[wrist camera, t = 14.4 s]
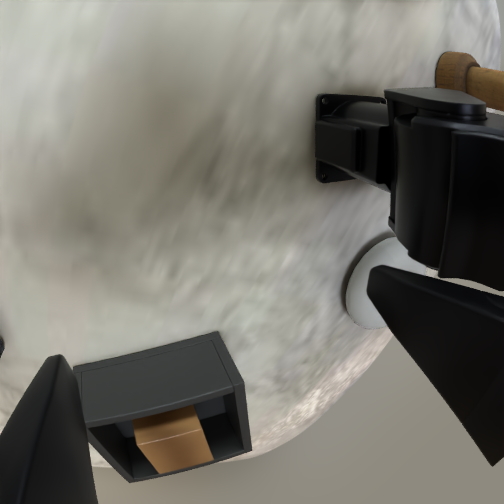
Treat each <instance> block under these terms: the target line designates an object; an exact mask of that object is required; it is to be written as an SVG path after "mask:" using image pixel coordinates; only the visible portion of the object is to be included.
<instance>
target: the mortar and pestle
mask: <svg viewBox="0 0 504 504" xmlns="http://www.w3.org/2000/svg"><path fill="white" fill-rule="evenodd" d="M436 86H437V88H442V89H450V90H458V91H462V92H464V93H466V94H469V95H471V96H473V97H475V98H477V99H479V100H481V101H483V102H485V103H486V107H488V108H492V109H496V110H500V111H504V72H503V71H498V70H493V69H487V68H481V67H480V65H479V64H478V63H477V62H476V60H475V59H474V58H473V57H472V56H471V55H469V54H467V53H460V52H446V53H444V54H443V55H442V56H441V58H440V59H439V63H438V67H437V70H436Z"/></svg>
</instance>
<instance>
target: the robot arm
mask: <svg viewBox="0 0 504 504" xmlns="http://www.w3.org/2000/svg"><path fill="white" fill-rule="evenodd" d="M384 95H385V99H387V104H386V100H385V99H384V98H382V97H371V96H358V95H342V94H319V95H318V96H317V98H316V124H315V157H316V179H317V180H318V181H319V182H321V183H330V182H337V181H344V180H352V179H359V180H362V181H364V182H366V183H369V184H371V185H373V186H376V187H378V188H380V189H383V190H385V191H387V192H389V193H391V202H390V216H389V222H388V225H389V226H390V227H391V229H392V230H393V231H394V232H395V234H396V237H397V240H398V241H399V242H400V243H401V244H402V245H403V246H404V247H405V248H406V249H407V250H408V253H407V254H408V256H409V257H410V258H411V259H413V260H415V261H416V262H418V263H420V264H422V265H424V266H426V267H428V268H431V269H434V270H437V271H438V277H440V278H459V279H465V280H471V281H474V282H477V283H480V284H483V285H485V286H488V287H490V288H493V289H495V290H498V291H504V116H503V115H499V114H494V113H489V112H486V103H485V102H483V101H481V100H479V99H477V98H475V97H473V96H471V95H469V94H466V93H464V92H462V91H458V90H450V89H442V88H432V87H425V88H402V89H386V90H384ZM323 98H324V99H325V103H324V104H323V102H322V99H323ZM380 102H381V104H380ZM323 174H325V176H324V178H322V175H323ZM366 292H367V296H368V298H369V299H370V301H371V302H372V304H373V305H374V307H375V308H376V310H377V311H378V312H379V314H380V315H381V317H382V318H383V320H384V322H385V323H386V325H387V326H388V328H389V329H390V330H391V332H392V333H393V334H394V336H395V337H396V338H397V340H398V341H399V342H400V343H401V345H402V346H403V347H404V348H405V349H406V351H407V352H408V353H409V355H410V356H411V357H412V358H413V359H414V361H415V362H416V363H417V365H418V366H419V367H420V368H421V370H422V371H423V372H424V374H425V375H426V376H427V377H428V379H429V380H430V382H431V383H432V384H433V385H434V387H435V388H436V389H437V391H438V392H439V393H440V395H441V396H442V397H443V399H444V400H445V401H446V403H447V404H448V405H449V407H450V408H451V410H452V411H453V412H454V414H455V415H456V416H457V417H458V419H459V420H460V422H461V423H462V425H463V426H464V428H465V429H466V431H467V432H468V433H469V435H470V436H471V438H472V439H473V440H474V442H475V443H476V445H477V446H478V447H479V449H480V451H481V452H482V453H483V455H484V456H485V458H486V459H487V461H488V462H489V463H490V465H491V466H494V465H495V464H496V463H497V462H498V461H500V460H501V459H502V458H503V457H504V297H503V296H499V295H496V294H492V293H488V292H485V291H480V290H477V289H473V288H470V287H466V286H462V285H458V284H455V283H451V282H448V281H443V280H440V279H436V278H433V277H429V276H425V275H421V274H417V273H414V272H410V271H406V270H402V269H398V268H394V267H391V266H387V265H378V266H375V267H373V268H371V270H370V272H369V277H368V283H367V288H366ZM0 504H98V500H97V495H96V490H95V484H94V479H93V472H92V466H91V459H90V452H89V443H88V436H87V430H86V425H85V420H84V415H83V410H82V405H81V399H80V393H79V387H78V382H77V378H76V376H75V374H74V373H73V371H72V369H71V368H70V366H69V364H68V362H67V361H66V359H65V357H64V356H63V355H60V354H59V355H54V356H50V357H48V358H47V359H46V360H45V362H44V363H43V365H42V367H41V368H40V370H39V371H38V373H37V374H36V376H35V377H34V379H33V380H32V382H31V384H30V385H29V387H28V388H27V390H26V392H25V393H24V395H23V397H22V398H21V400H20V401H19V403H18V405H17V406H16V408H15V410H14V412H13V413H12V415H11V417H10V418H9V420H8V422H7V424H6V426H5V427H4V429H3V431H2V433H1V435H0Z"/></svg>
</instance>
